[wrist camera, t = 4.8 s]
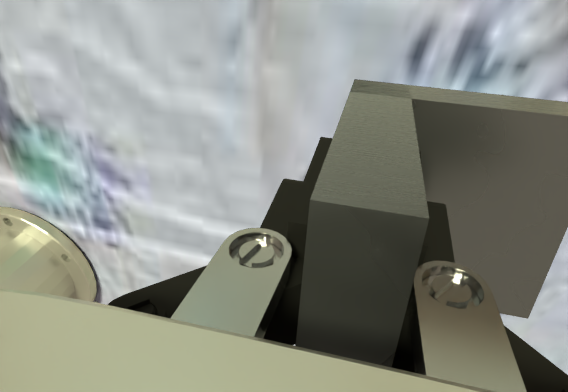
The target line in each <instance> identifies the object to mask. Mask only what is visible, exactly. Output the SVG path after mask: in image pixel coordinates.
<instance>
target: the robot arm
mask: <svg viewBox="0 0 568 392" xmlns="http://www.w3.org/2000/svg"><path fill="white" fill-rule="evenodd" d="M331 142H332V138H325V137H321V138H320V140H319V143H318V146H317V148H316V151H315V153H314V156H313V158H312V161H311V164H310V166H309V169H308V171H307V174H306V176H305V179H304V182H303V181H297V180H290V179H283V181H282V183H281V185H280V187H279V189H278V191H277V193H276V195H275V197H274V200H273V202H272V204H271V206H270V208H269V210H268V212H267V214H266V216H265V219H264V221H263V223H262V225H261V227H260V228H248V229H244V230H240V231H237V232H235V233H234V234H232V235H230V236H229V237H228V238H227V239H226V240H225V241H224V242H223V244H222V245H221V246H220V248H219V249H218V251H217V252H216V254H215V255H214V256H213V258H212V259H211V261H210V262H209V264H208V265H207V266H204V267H202V268H199V269H196V270H193V271H190V272H187V273H185V274H182V275H179V276H176V277H173V278H170V279H168V280H165V281H162V282H159V283H156V284H153V285H151V286H148V287H145V288H142V289H139V290H136V291H134V292H131V293H128V294H125V295H123V296H121V297H119V298H117V299H114V300H113V301H112V302H110V303H109V304H108V305H105V304H100V303H98V302H93V301H94V300H95V297H96V292H97V288H96V280H95V277H94V273H93V271H92V269H91V267H90V265H89V263H88V261H87V260H86V258H85V257H84V255H83V254H82V252H81V251H80V250H79V249H78V248H77V247H76V245H75V244H74V243H73V242H72V241H71V240H70V239H69V238H68V237H66V236H65V235H64V234H63V233H62V232H61V231H59V230H58V229H57V228H55V227H54V226H52V225H51V224H50V223H48V222H46V221H44V220H42V219H41V218H39V217H37V216H35V215H32V214H30V213H27V212H25V211H22V210H18V209H14V208H9V207H0V392H568V375H567V374H565V373H564V372H563V371H562V370H560V369H559V368H558V367H557V366H555V365H554V364H553V363H551V362H550V361H549V360H548V359H546V358H545V357H544V356H542V355H541V354H540V353H539V352H537V351H536V350H535V349H533V348H532V347H531V346H530V345H528V344H527V343H526V342H525V341H523V340H522V339H521V338H519V337H518V336H517V335H516V334H514V333H513V332H512V331H510V330H509V329H508V328H507V327H505V326H504V325H503V322H502V319H501V316H500V313H499V310H498V307H497V305H496V302H495V299H494V296H493V293H492V291H491V289H490V287H489V285H488V284H487V282H486V281H485V280H484V279H483V278H482V277H481V276H480V275H478V274H477V273H475V272H474V271H472V270H471V269H469V268H467V267H465V266H462V265H460V264H457V263H455V260H454V253H453V247H452V240H451V234H450V228H449V221H448V215H447V208H446V205H445V204H443V203H437V202H430V201H427V207H428V213H429V222H428V226H427V230H426V234H425V238H424V241H423V245H422V249H421V253H420V257H419V261H418V265H417V269H416V273H415V277H414V281H413V285H412V289H411V293H410V297H409V301H408V305H407V309H406V313H405V316H404V320H403V324H402V328H401V332H400V336H399V340H398V344H397V348H396V352H395V356H394V360H393V364H392V368H391V367H386V366H382V365H377V364H373V363H368V362H364V361H360V360H355V359H351V358H346V357H342V356H337V355H333V354H329V353H324V352H320V351H315V350H311V349H306V348H302V347H297V346H293V345H294V344H296V336H297V326H298V316H299V306H300V295H301V285H302V275H303V265H304V255H305V245H306V235H307V224H308V214H309V204H310V198H311V196H312V193H313V190H314V187H315V185H316V182H317V179H318V177H319V174H320V171H321V169H322V166H323V163H324V161H325V158H326V155H327V153H328V150H329V147H330V144H331ZM419 154H420V160H421V151H419ZM421 167H422V163H421Z"/></svg>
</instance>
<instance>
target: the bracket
mask: <svg viewBox="0 0 568 392" xmlns="http://www.w3.org/2000/svg"><path fill="white" fill-rule="evenodd" d="M419 151H421V160H420V154H419ZM421 163H422V167H421ZM427 201H430V202H437V203H443V204H445V205H446V208H447V215H448V221H449V228H450V234H451V240H452V247H453V253H454V260H455V263H457V264H460V265H462V266H465V267H467V268H469V269H471V270H472V271H474V272H475V273H477V274H478V275H480V276H481V277H482V278H483V279H484V280H485V281H486V282H487V284H488V285H489V287H490V289H491V291H492V293H493V296H494V299H495V302H496V305H497V307H498V310H499V313H502V314H507V315H512V316H517V317H523V318H528V317H529V315H530V313H531V310H532V308H533V306H534V303H535V301H536V299H537V296H538V294H539V292H540V290H541V287H542V285H543V283H544V280H545V278H546V276H547V273H548V271H549V269H550V267H551V264H552V262H553V260H554V257H555V255H556V253H557V250H558V248H559V246H560V244H561V241H562V239H563V237H564V234H565V232H566V230H567V227H568V102H562V101H552V100H543V99H534V98H524V97H515V96H506V95H496V94H487V93H478V92H468V91H459V90H450V89H441V88H431V87H422V86H413V85H403V84H394V83H385V82H375V81H366V80H357V79H355V80H354V83H353V85H352V88H351V91H350V93H349V96H348V99H347V101H346V104H345V107H344V110H343V112H342V115H341V118H340V120H339V123H338V126H337V128H336V131H335V134H334V136H333V139H332V142H331V144H330V147H329V150H328V153H327V155H326V158H325V161H324V163H323V166H322V169H321V171H320V174H319V177H318V179H317V182H316V185H315V187H314V190H313V193H312V196H311V198H310V204H309V214H308V224H307V235H306V245H305V255H304V265H303V275H302V285H301V295H300V306H299V316H298V326H297V336H296V346H297V347H302V348H306V349H311V350H315V351H320V352H324V353H329V354H333V355H337V356H342V357H346V358H351V359H355V360H360V361H364V362H368V363H373V364H377V365H382V366H386V367H391V368H392V364H393V360H394V356H395V352H396V348H397V344H398V340H399V336H400V332H401V328H402V324H403V320H404V316H405V313H406V309H407V305H408V301H409V297H410V293H411V289H412V285H413V281H414V277H415V273H416V269H417V265H418V261H419V257H420V253H421V249H422V245H423V241H424V238H425V234H426V230H427V226H428V222H429V213H428V207H427Z"/></svg>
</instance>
